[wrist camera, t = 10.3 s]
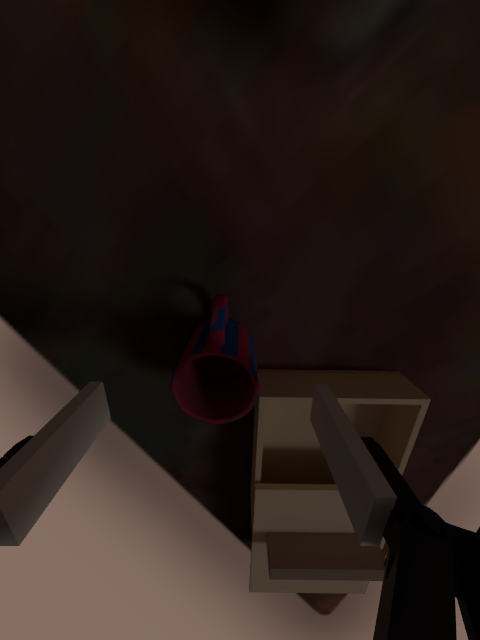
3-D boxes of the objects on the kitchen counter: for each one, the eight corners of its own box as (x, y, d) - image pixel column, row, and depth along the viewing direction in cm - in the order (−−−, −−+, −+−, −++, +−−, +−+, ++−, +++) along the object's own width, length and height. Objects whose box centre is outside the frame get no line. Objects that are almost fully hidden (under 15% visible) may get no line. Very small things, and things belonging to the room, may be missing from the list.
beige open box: (256, 369, 24) (259, 396, 20) (398, 371, 24) (430, 399, 20) (250, 494, 31) (251, 534, 27) (360, 495, 31) (379, 536, 27)
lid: (255, 483, 24) (257, 524, 20) (401, 485, 24) (427, 527, 20) (249, 585, 31) (250, 628, 27) (362, 587, 31) (377, 630, 27)
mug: (186, 370, 25) (167, 418, 18) (196, 279, 21) (177, 299, 15) (247, 380, 25) (249, 429, 19) (267, 292, 22) (278, 316, 15)
